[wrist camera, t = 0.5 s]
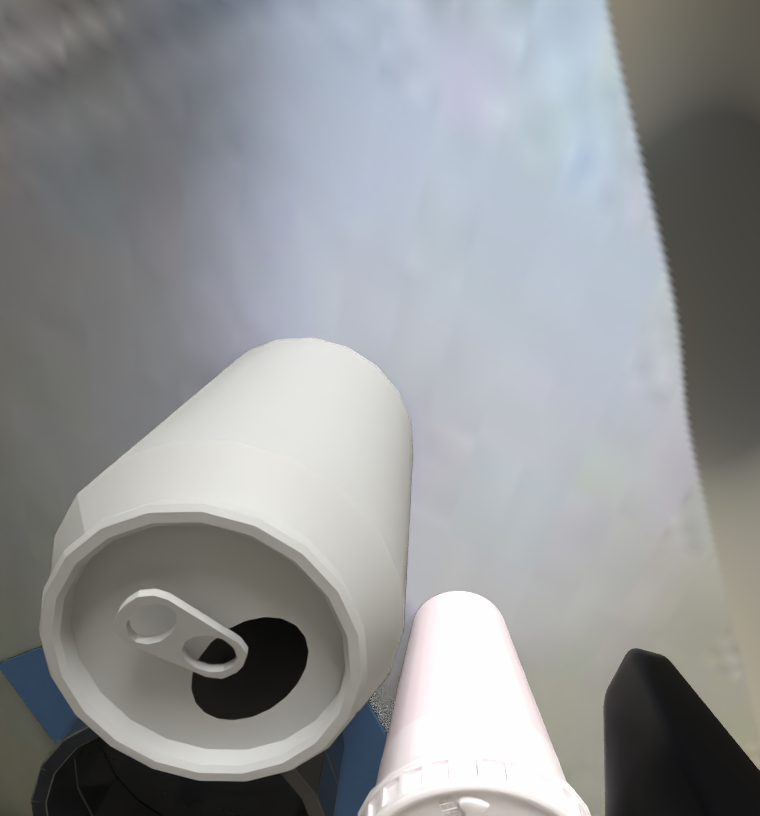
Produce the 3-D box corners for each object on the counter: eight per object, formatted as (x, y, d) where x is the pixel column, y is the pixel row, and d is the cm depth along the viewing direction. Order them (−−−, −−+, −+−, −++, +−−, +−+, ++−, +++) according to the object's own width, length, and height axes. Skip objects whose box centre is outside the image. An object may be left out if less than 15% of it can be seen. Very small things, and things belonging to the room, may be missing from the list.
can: (323, 561, 25) (233, 874, 13) (168, 438, 23) (-76, 664, 12) (458, 429, 22) (490, 663, 11) (296, 286, 21) (146, 384, 10)
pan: (147, 845, 30) (101, 952, 26) (52, 653, 27) (-19, 739, 23) (374, 814, 28) (365, 923, 24) (302, 607, 25) (276, 690, 21)
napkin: (164, 883, 31) (162, 887, 31) (-1, 662, 27) (-4, 665, 27) (429, 808, 28) (429, 813, 28) (285, 552, 25) (283, 555, 24)
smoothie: (574, 637, 25) (744, 1140, 12) (452, 721, 27) (478, 1244, 13) (464, 529, 24) (513, 949, 10) (344, 624, 25) (255, 1090, 12)
